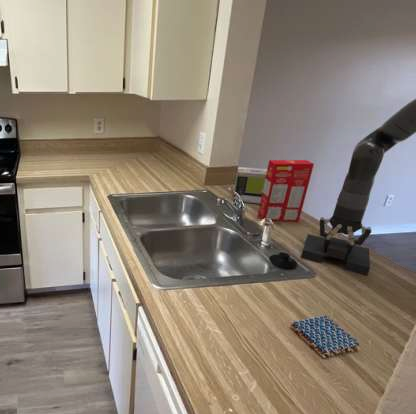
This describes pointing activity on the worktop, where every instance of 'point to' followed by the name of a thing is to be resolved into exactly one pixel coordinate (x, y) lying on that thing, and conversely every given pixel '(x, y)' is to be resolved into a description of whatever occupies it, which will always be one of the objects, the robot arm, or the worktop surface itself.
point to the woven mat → (324, 336)
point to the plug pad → (337, 248)
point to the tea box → (250, 184)
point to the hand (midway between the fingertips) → (336, 250)
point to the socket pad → (353, 261)
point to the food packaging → (285, 190)
